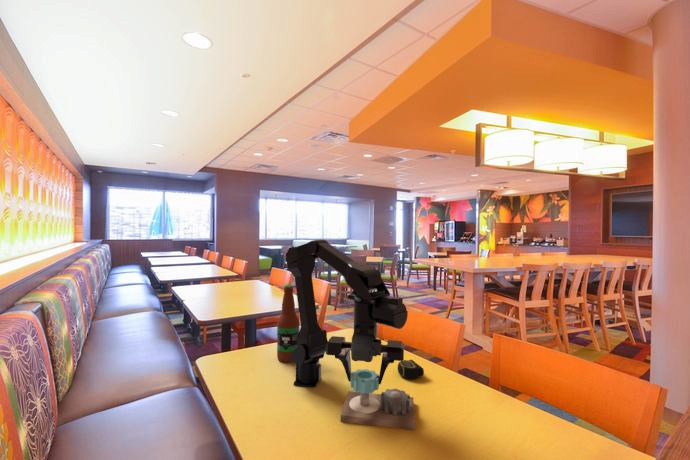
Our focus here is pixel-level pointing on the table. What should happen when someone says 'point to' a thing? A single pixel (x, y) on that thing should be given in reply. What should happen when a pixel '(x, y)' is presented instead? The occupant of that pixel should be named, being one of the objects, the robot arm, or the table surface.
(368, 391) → the teal gear
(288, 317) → the bottle
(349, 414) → the gear board
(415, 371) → the tape measure
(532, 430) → the table surface
